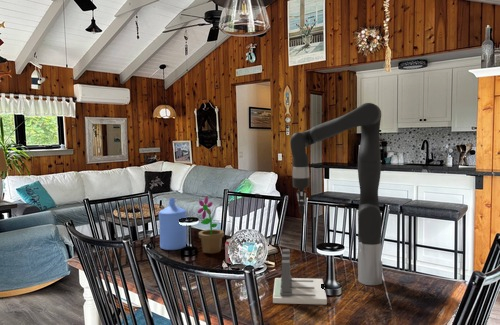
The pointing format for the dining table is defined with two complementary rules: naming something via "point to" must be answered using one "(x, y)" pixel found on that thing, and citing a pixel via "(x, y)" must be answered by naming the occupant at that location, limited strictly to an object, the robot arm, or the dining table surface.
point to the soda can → (227, 251)
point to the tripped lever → (286, 251)
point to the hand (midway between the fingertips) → (301, 212)
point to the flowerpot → (209, 231)
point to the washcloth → (271, 250)
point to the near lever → (286, 279)
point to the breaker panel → (301, 292)
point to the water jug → (172, 227)
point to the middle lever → (286, 257)
